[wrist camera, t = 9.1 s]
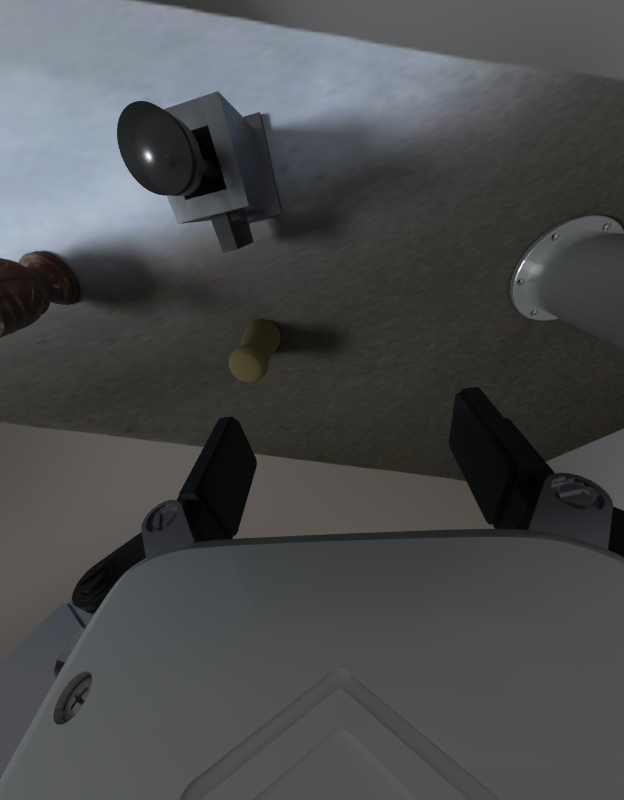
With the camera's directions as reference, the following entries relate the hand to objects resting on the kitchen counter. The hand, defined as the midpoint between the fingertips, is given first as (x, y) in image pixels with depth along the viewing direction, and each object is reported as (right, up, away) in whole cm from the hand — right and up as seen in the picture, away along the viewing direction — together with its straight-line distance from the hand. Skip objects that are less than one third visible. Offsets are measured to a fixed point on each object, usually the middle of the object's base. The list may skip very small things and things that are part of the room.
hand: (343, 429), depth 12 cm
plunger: (-11, +26, +17) cm, 33 cm away
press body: (-10, +27, +21) cm, 36 cm away
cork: (-9, +12, +32) cm, 36 cm away
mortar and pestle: (-39, +20, +29) cm, 52 cm away
